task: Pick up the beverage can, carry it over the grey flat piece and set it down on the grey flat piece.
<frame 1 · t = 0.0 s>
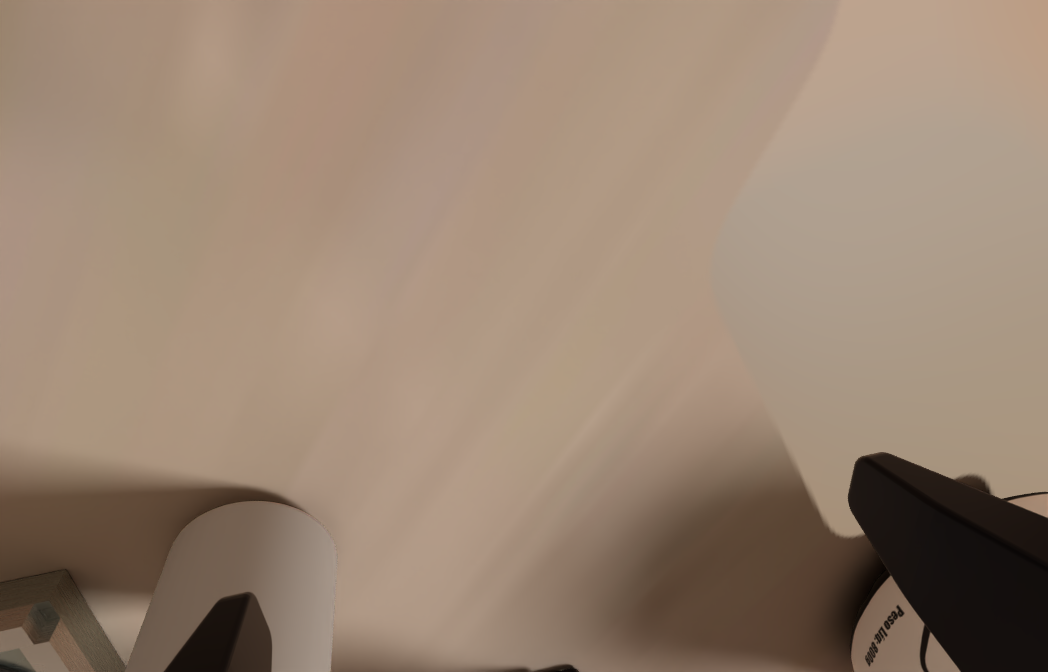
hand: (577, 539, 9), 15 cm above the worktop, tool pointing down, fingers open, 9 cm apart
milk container: (950, 576, 39), on the worktop
beverage can: (259, 544, 27), on the worktop
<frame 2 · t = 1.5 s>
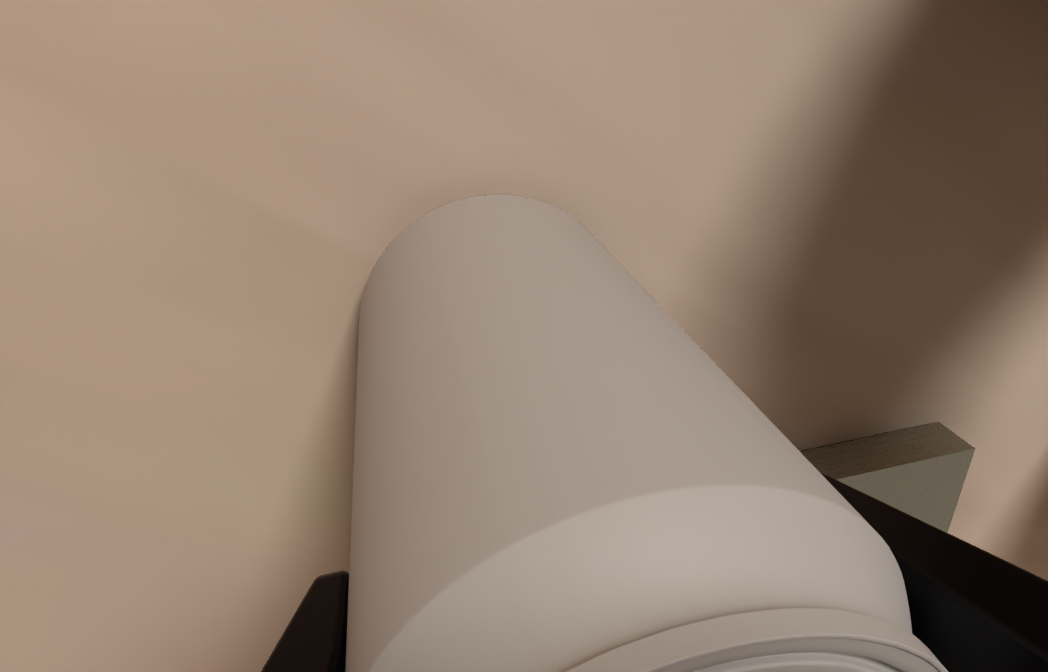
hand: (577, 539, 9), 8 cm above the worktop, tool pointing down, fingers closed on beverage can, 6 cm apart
grey flat piece: (711, 594, 23), on the worktop
beverage can: (486, 306, 16), on the worktop, touching gripper
when the fingers open (10 cm above the worktop, at t = 4.5 s): beverage can stays where it is, resting on grey flat piece.
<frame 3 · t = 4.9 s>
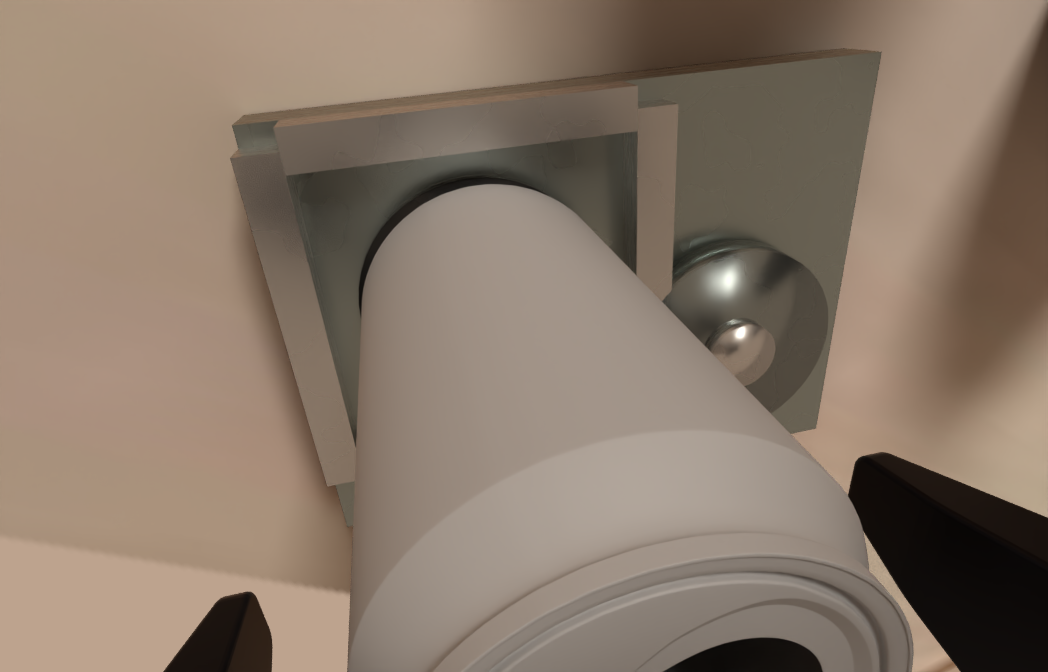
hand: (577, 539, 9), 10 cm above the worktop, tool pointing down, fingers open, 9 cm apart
grey flat piece: (575, 290, 19), on the worktop
beverage can: (484, 293, 17), point 2 cm above the worktop, touching grey flat piece
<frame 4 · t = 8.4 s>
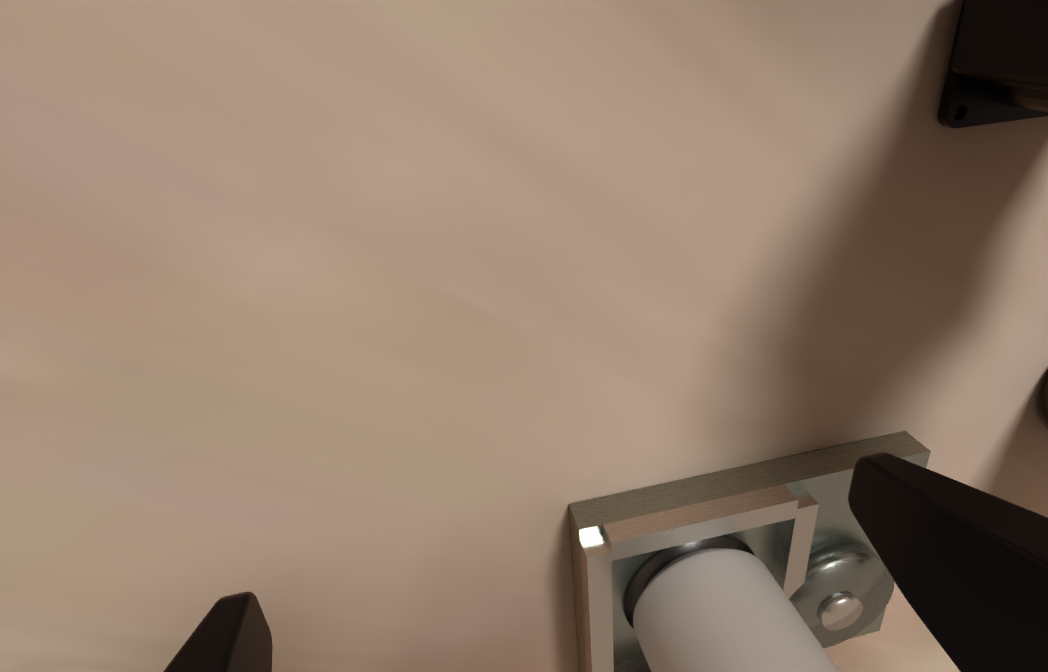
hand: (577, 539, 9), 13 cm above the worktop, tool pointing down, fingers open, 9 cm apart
grey flat piece: (733, 562, 31), on the worktop
beverage can: (691, 586, 28), point 2 cm above the worktop, touching grey flat piece
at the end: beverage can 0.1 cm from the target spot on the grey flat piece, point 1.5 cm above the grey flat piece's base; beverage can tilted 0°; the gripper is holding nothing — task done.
